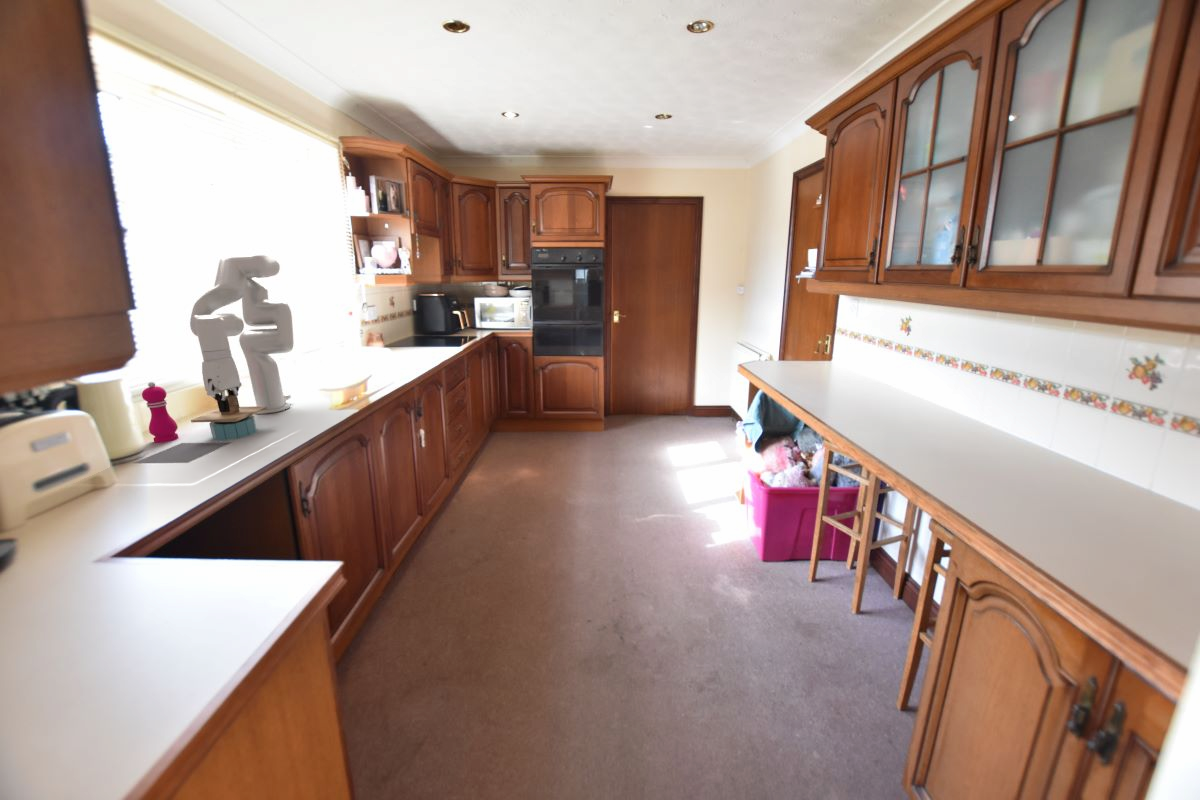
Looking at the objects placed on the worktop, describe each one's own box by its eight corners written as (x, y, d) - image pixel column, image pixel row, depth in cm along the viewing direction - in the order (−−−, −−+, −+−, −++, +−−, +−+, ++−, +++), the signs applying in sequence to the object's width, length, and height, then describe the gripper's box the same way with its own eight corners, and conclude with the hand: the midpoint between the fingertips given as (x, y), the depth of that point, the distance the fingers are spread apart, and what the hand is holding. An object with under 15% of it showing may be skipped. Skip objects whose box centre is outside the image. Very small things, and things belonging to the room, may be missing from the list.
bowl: (232, 429, 180) (228, 414, 179) (264, 429, 180) (261, 414, 178) (204, 441, 169) (200, 425, 167) (239, 441, 168) (235, 425, 167)
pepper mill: (156, 446, 166) (139, 385, 161) (149, 442, 170) (133, 383, 165) (183, 439, 171) (168, 381, 166) (176, 436, 176) (161, 378, 170)
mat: (182, 444, 167) (181, 442, 167) (232, 443, 166) (231, 442, 166) (133, 464, 150) (132, 463, 150) (188, 464, 149) (187, 462, 149)
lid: (226, 409, 180) (222, 391, 178) (267, 408, 179) (264, 390, 177) (191, 422, 166) (186, 403, 164) (235, 421, 165) (231, 402, 163)
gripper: (225, 351, 175) (237, 403, 180) (184, 360, 159) (198, 417, 164) (246, 350, 175) (257, 403, 180) (207, 359, 159) (221, 417, 164)
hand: (229, 409), depth 172 cm, fingers closed on lid, 3 cm apart
